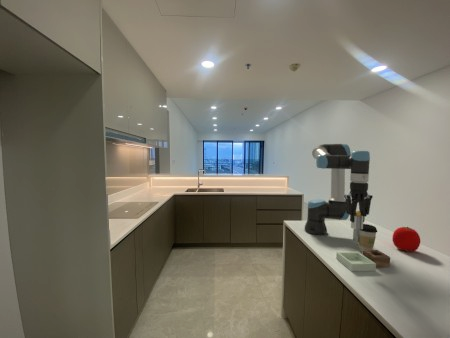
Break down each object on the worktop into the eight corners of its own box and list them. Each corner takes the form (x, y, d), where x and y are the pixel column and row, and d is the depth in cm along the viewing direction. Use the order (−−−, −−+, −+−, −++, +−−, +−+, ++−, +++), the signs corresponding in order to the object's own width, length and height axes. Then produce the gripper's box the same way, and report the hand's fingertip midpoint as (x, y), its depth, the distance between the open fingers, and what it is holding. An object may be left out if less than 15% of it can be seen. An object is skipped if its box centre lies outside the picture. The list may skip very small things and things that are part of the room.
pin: (351, 239, 102) (353, 210, 101) (356, 239, 102) (358, 210, 101) (355, 242, 99) (357, 212, 98) (360, 242, 99) (362, 212, 98)
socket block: (362, 259, 107) (362, 250, 106) (376, 258, 107) (377, 249, 107) (374, 267, 99) (375, 257, 98) (389, 266, 99) (390, 257, 99)
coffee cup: (379, 256, 110) (381, 229, 109) (360, 254, 112) (361, 228, 111) (370, 248, 119) (371, 224, 118) (352, 246, 121) (353, 222, 120)
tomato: (395, 251, 116) (396, 227, 115) (389, 243, 126) (390, 222, 125) (424, 256, 110) (425, 231, 109) (415, 248, 121) (416, 225, 120)
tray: (336, 258, 107) (336, 252, 107) (357, 258, 108) (357, 251, 107) (351, 271, 95) (352, 264, 95) (375, 270, 96) (375, 263, 95)
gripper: (348, 182, 94) (346, 231, 96) (380, 183, 95) (377, 230, 97) (338, 181, 102) (337, 225, 103) (368, 181, 103) (366, 225, 104)
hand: (356, 228), depth 100 cm, fingers closed on pin, 3 cm apart
